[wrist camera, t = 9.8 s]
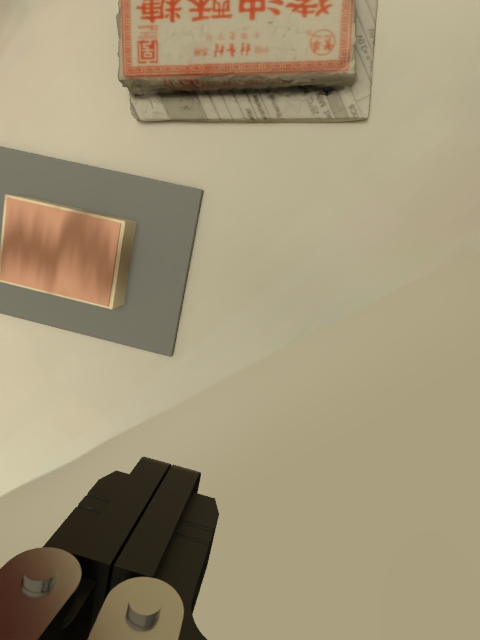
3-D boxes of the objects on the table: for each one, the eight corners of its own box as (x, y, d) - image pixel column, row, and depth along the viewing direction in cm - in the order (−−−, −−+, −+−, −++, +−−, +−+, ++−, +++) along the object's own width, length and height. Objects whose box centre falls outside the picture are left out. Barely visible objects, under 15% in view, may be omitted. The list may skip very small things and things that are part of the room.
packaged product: (110, 110, 32) (105, -53, 30) (135, 125, 37) (132, -16, 35) (376, 108, 30) (390, -71, 27) (367, 124, 34) (378, -28, 32)
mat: (-4, 145, 38) (-8, 144, 38) (203, 190, 36) (201, 189, 36) (-18, 306, 42) (-22, 307, 41) (172, 355, 40) (171, 356, 39)
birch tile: (137, 221, 37) (23, 196, 38) (124, 221, 35) (3, 194, 36) (124, 304, 39) (15, 277, 40) (111, 309, 36) (-4, 281, 37)
